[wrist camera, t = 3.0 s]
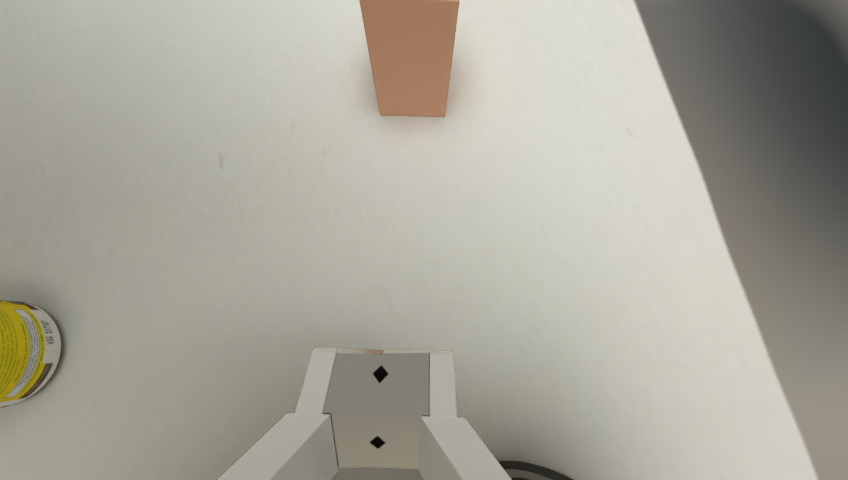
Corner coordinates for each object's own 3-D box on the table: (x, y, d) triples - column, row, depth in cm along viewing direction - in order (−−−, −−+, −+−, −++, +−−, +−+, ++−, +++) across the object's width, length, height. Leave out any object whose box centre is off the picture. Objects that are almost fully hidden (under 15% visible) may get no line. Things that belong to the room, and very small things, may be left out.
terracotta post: (380, 115, 28) (359, -2, 18) (382, 56, 28) (364, -87, 19) (444, 116, 28) (459, 1, 18) (445, 58, 28) (460, -84, 19)
